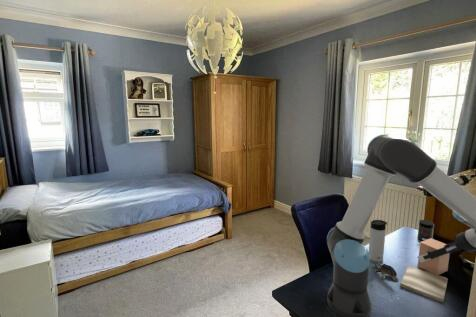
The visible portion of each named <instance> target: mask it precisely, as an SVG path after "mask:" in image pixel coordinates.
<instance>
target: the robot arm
mask: <svg viewBox="0 0 476 317" xmlns="http://www.w3.org/2000/svg"><path fill="white" fill-rule="evenodd" d="M366 150H367V156H366V158H365V159H364V162H363V163H364V166H365V171H364V173H363V175H362V177H361V179H360V181H359V184H358V186H357V188H356V190H355V192H354V194H353V196H352V198H351V201H350V203H349V205H348V206H347V210H346V212H345V214H344V216H343V218H342V220H341V221H338V222H336V224H335V225H334V227H332V228H331V229H330V230H329V231H328V234H327V235H326V245H327V248H328V251H329V253H330V256H331V260H332V264H333V273H332V275H333V276H332V284H331V286H330V287H329V290H328V292H327V294H326V295H327V298H326V300H327V301H326V302H327V305H328V306H329V308H330V310H331V311H332V312H334V313H335V314H337V315H338V316H340V317H369V316H370V315H371V314H372V301H371V299H370V294H369V291H368V285H369V284H368V282H369V271H370V270H369V268H370V264H371V261H370V257H369V249H368V248H367V246H365V245H364V244H363V243H364V241H365V238H366V235H365V233H364V231H365V228H366V227H367V224H368V223H369V221H370V218H371V217H372V214H373V212H374V210H375V209H376V206H377V204H378V202H379V200H380V198H381V196H382V195H383V194H382V193H383V192H384V190H385V188H386V186H387V184H388V182H389V180H390V178H391V177H392V178H393V177H395V176H397V174H398V175H400V176H402V177H404V178H405V179H406V180H407V181H409V182H410V183H412V184H418V185H419V186H420V187H422V188H423V190H426V191H427V192H428V193H430V195H432V196H434V197H435V198H436V199H437V200H438V201H439V202H441V203H442V204H444V206H446V207H447V208H448V209H450V210H451V211H452V216H453V217H454V218H455V219H456V220H457V221H458V222H461V223H463V224H464V225H466V226H468V227H469V229H466V230H465V231H462V232H460V233H458V234H456V235H455V240H453V241H451V242H449V243H447V245H445V246H444V247H443V248H440V249H438V250H435V251H432V252H429V251H427V252H428V253H426V254H423V255H420V256H419V255H418V256H417V257H416V258H417V260H418V259H419V261H420V262H421V263H422V262H425V261H427V260H430V259H434V258H436V257H439V256H442V255H444V254H447V253H450V254H452V253H455V252H456V253H457V252H460V251H462V250H463V251H465V252H467V253H473V252H476V196H475V195H474V194H472V193H471V192H470V191H469V190H467V188H465V187H464V186H463V185H461V184H460V183H458V182H457V181H456V180H455V179H453V178H452V176H449V175H448V174H447V173H445V172H444V171H443V170H441V168H439V167H438V166H437V165H438V163H437V161H436V160H435V159H433V158H432V157H431V156H429V155H428V154H427V153H426V152H425V151H424V150H423V149H421V148H420V147H419V146H418V145H417V144H416V143H415V142H414V141H411V140H410V139H407V138H405V137H402V136H401V137H400V136H397V135H395V134H390V133H387V134H386V133H383V134H379V135H377V136H375V137H374V138H372V139H371V140H370V141H369V143H368V145H367V149H366Z"/></svg>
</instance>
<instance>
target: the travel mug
mask: <svg viewBox="0 0 476 317" xmlns="http://www.w3.org/2000/svg"><path fill="white" fill-rule="evenodd" d="M387 225H388V223H387V221H385V220H382V219H373V220H371V222H370V230H369V232H370V233H369V242H368V243H369V244H368V252H369V257H370V263H374V264H379V263H380V264H383V262H384V252H385V240H386V230H387V229H386V228H387ZM378 262H379V263H378Z"/></svg>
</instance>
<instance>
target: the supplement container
mask: <svg viewBox="0 0 476 317" xmlns="http://www.w3.org/2000/svg"><path fill="white" fill-rule="evenodd" d="M434 228H435V222H433V221H431V220H428V219H427V220H426V219H419V221H418V227H417V239H418V241H420V242H422V241H425V240H427V239H430V238H432V239H434V237H433V236H434Z"/></svg>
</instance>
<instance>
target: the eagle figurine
mask: <svg viewBox="0 0 476 317" xmlns="http://www.w3.org/2000/svg"><path fill="white" fill-rule="evenodd" d="M376 264H378V265H379V267H378V265H376ZM372 269H373V270H374V271H375V272H374V274H378V273H381V275H382V280H385V279H386V275H388V276H389V277H390V278H391V279H392V280H393V282H399V278H398V277H397V276H398V274H397V270H396V269H395V268H393V267H392V266H391V265H388V264H387V263H379V262H378V263H374V267H373V266H372Z"/></svg>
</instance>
